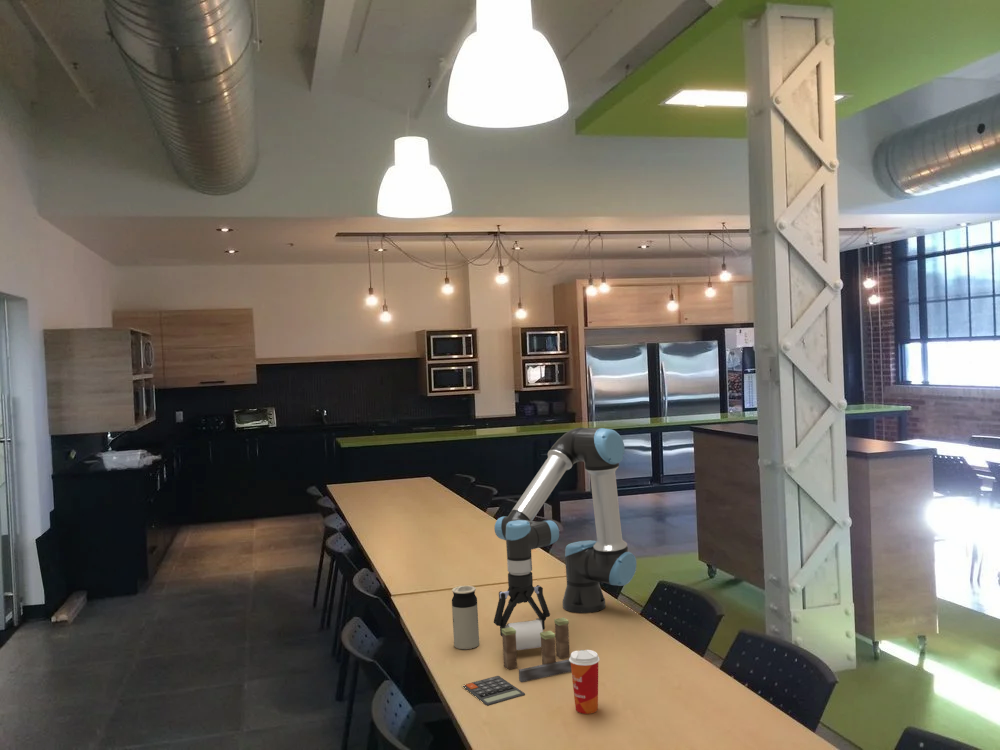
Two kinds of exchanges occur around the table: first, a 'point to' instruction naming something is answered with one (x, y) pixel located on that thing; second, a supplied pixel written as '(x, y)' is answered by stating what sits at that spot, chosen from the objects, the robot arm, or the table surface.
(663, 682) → the table surface
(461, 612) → the travel mug
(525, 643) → the mug
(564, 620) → the header dock
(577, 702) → the paper cup
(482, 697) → the calculator
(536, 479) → the robot arm
